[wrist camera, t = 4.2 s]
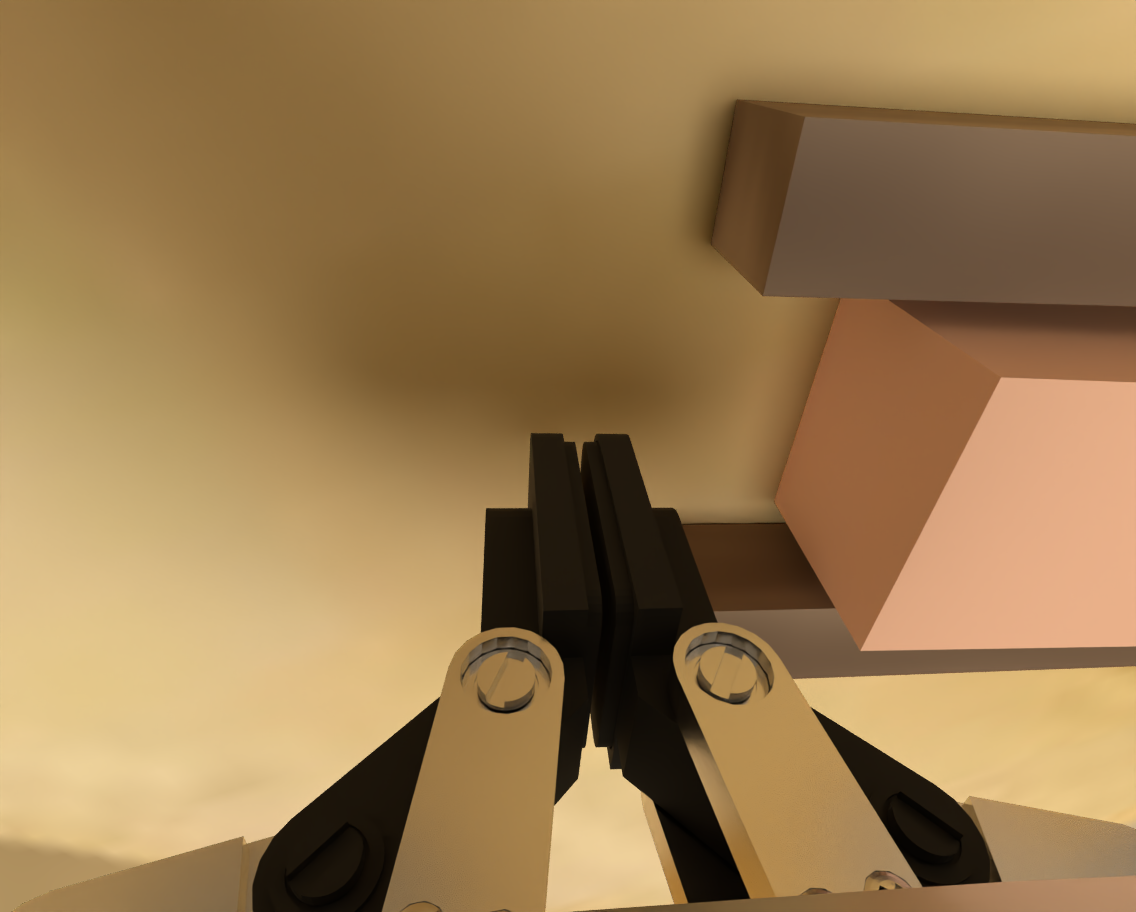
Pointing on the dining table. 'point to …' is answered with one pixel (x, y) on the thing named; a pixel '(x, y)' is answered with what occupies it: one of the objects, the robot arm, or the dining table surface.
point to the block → (971, 474)
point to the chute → (907, 297)
